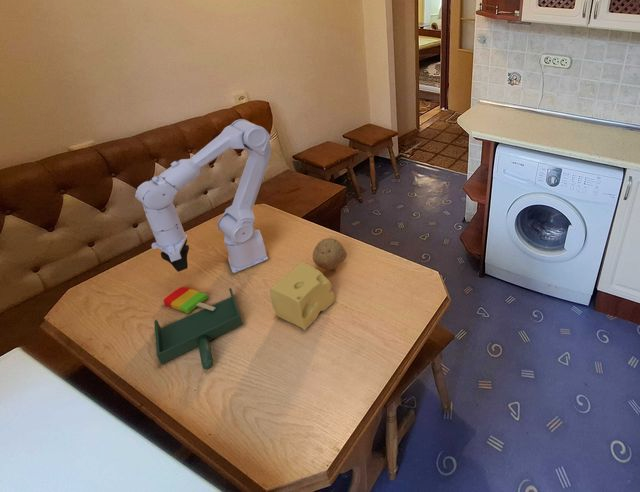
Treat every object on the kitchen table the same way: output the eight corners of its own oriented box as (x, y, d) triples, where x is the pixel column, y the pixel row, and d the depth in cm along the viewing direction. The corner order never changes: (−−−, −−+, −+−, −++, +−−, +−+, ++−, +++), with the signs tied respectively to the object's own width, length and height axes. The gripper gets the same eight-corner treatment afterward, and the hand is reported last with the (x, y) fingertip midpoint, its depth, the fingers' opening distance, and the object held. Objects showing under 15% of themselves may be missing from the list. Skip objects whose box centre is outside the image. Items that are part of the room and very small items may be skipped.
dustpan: (158, 330, 87) (154, 320, 86) (233, 296, 97) (231, 287, 95) (164, 398, 73) (159, 388, 72) (251, 351, 83) (248, 341, 81)
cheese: (335, 301, 96) (331, 273, 92) (303, 333, 87) (297, 303, 83) (307, 288, 100) (301, 260, 96) (274, 317, 91) (266, 288, 87)
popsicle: (183, 290, 98) (181, 284, 98) (225, 303, 94) (223, 298, 93) (162, 305, 94) (160, 300, 93) (205, 320, 89) (203, 315, 89)
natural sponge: (309, 267, 107) (303, 240, 103) (335, 252, 114) (331, 226, 110) (324, 282, 102) (319, 255, 98) (351, 266, 108) (348, 239, 104)
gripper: (144, 217, 92) (161, 258, 98) (146, 246, 82) (165, 290, 88) (178, 208, 96) (192, 247, 102) (184, 234, 86) (199, 277, 92)
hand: (182, 266), depth 95 cm, fingers closed
